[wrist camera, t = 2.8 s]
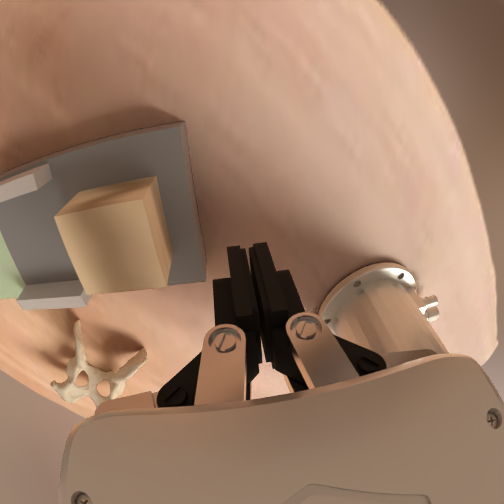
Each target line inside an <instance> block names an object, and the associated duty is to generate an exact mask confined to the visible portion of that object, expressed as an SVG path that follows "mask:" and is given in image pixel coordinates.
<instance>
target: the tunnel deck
mask: <svg viewBox="0 0 504 504" xmlns="http://www.w3.org/2000/svg"><path fill="white" fill-rule="evenodd" d="M153 176H156V177H157V182H158V187H159V192H160V197H161V201H162V206H163V211H164V215H165V220H166V224H167V229H168V233H169V237H170V241H171V245H172V250H173V257H172V262H171V267H170V272H169V277H168V283H167V285H176V284H186V283H195V282H204V281H206V256H205V250H204V244H203V239H202V233H201V227H200V221H199V216H198V209H197V203H196V197H195V191H194V184H193V178H192V171H191V164H190V157H189V150H188V142H187V135H186V127H185V121H182V122H176V123H170V124H164V125H159V126H154V127H149V128H144V129H139V130H134V131H130V132H126V133H121V134H117V135H113V136H109V137H105V138H101V139H98V140H94V141H91V142H87V143H84V144H80V145H77V146H74V147H71V148H67V149H64V150H61V151H58V152H55V153H52V154H49V155H47V156H44V157H41V158H38V159H36V160H33V161H30V162H28V163H25V164H23V165H20V166H18V167H16V168H13V169H11V170H8V171H6V172H4V173H2V174H0V299H8V298H18V299H17V302H18V304H19V305H20V307H21V308H22V310H37V309H60V308H79V307H87V305H88V302H89V300H90V298H91V295H92V294H89V295H87V294H86V292H85V290H84V288H83V286H82V284H81V282H80V280H79V277H78V275H77V273H76V271H75V269H74V266H73V264H72V262H71V259H70V257H69V255H68V252H67V250H66V247H65V245H64V242H63V240H62V237H61V235H60V232H59V229H58V227H57V224H56V221H55V218H54V216H55V215H56V214H57V213H58V212H59V211H60V210H61V209H62V208H63V207H64V206H65V205H66V204H67V203H68V202H69V201H70V200H71V199H72V198H73V197H74V196H75V195H76V194H77V193H78V192H80V191H84V190H89V189H93V188H98V187H102V186H107V185H111V184H116V183H121V182H126V181H131V180H137V179H142V178H148V177H153Z"/></svg>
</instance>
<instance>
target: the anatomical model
mask: <svg viewBox="0 0 504 504" xmlns="http://www.w3.org/2000/svg"><path fill="white" fill-rule="evenodd" d="M73 332H74V337H75V352H76V355H75V357H73V358H71V359H70V360H69V362H68V365H67V372H66V374H67V375H68V379H67V380H66V381H64V382H63V383H57V382H56V381H52V382H51V387H52V388H53V389H54V390H55V391H56V392H57V393H58V394H59V395H60V396H61V398H62V399H63V400H64V401H67V402H70V403H75V402H76V401H77V400H78V399H80V398H82V397H85V396H88V397H90V398H91V399H92V400H93V402H94V403H95V405H96V408H97V407H98V406H99V405H100V404H101V403H102V402H105V401H107V400H113V399H116V397H117V396H120V395H121V394H122V392H123V390H124V388H125V385H126V382H125V380H128V379H129V378H130V377H131V376H132V375H133V374H134V373H135V372H136V371H137V370H138V369H139V368H140V367H141V366H142V365H143V364H144V363H145V362H146V361H147V360H148V358H146V356H147V352H146V350H145V349H144V348H142V349H141V350H140V351H139V352H138V353H137V354H136V355H135V356H134V357H132V358H131V359H130V360H128V362H127V363H126V364H125V365H124V366H122V367H121V368H120V369H119V370H118V371H117V372H116V373H117V374H116V373H114V372H113V371H109V372H103V371H101V370H100V369H98V368H96V367H93V366H90V365H88V364H87V362H86V356H87V355H86V354H85V349H84V344H83V341H82V336H81V322H80V320H77V321H76V322H75V324H74V327H73ZM82 370H83V371H85V373H86V374H87V375H88V378H89V380H88V384H87V385H86V386H83V387H79V386H77V385H75V383H74V382H75V380H76V377H77V376H78V374H79V373H80V372H81V371H82ZM102 380H108V381H109V384H110V395H109V396H108V397H104V396H102V395H100V394H99V393H98V391H97V389H96V386H97V384H98V383H99V382H100V381H102Z"/></svg>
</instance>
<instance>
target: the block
mask: <svg viewBox="0 0 504 504" xmlns="http://www.w3.org/2000/svg"><path fill="white" fill-rule="evenodd" d="M54 218H55V221H56V224H57V227H58V229H59V232H60V235H61V237H62V240H63V242H64V245H65V247H66V250H67V252H68V255H69V257H70V259H71V262H72V264H73V266H74V269H75V271H76V273H77V275H78V277H79V280H80V282H81V284H82V286H83V288H84V290H85V292H86V294H87V295H89V294H101V293H113V292H124V291H134V290H145V289H155V288H165V287H167V283H168V277H169V272H170V267H171V262H172V257H173V250H172V245H171V241H170V237H169V233H168V229H167V224H166V220H165V215H164V211H163V206H162V201H161V197H160V192H159V187H158V182H157V177H156V176H153V177H148V178H142V179H137V180H131V181H126V182H121V183H116V184H111V185H107V186H102V187H98V188H93V189H89V190H84V191H80V192H78V193H77V194H76V195H75V196H74V197H73V198H72V199H71V200H70V201H69V202H68V203H67V204H66V205H65V206H64V207H63V208H62V209H61V210H60V211H59V212H58V213H57V214H56V215H55V216H54Z"/></svg>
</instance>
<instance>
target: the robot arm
mask: <svg viewBox="0 0 504 504" xmlns="http://www.w3.org/2000/svg"><path fill="white" fill-rule="evenodd" d="M227 252H228V260H229V268H230V276H231V278H223V279H215V280H213V295H214V313H215V327H213V328H212V329H210V330H209V331H208V332H207V334H206V335H205V338H204V342H203V348H202V352H200V353H199V354H198V355H197V356H196V357H195V358H194V359H193V360H192V361H191V362H190V363H188V364H187V365H186V366H185V367H184V368H183V369H182V370H181V371H180V372H179V373H177V374H176V375H175V376H174V377H173V378H172V379H171V380H170V381H168V382H167V383H166V384H165V385H164V386H163V387H162V388H161V389H160V390H159V392H155V393H152V392H151V391H149V392H145V393H140V394H136V395H132V396H127V397H122V398H117V399H113V400H107V401H105V402H102V403H101V404H100V405H99V406H98V407H97V409H96V411H95V415H94V416H91V417H89V418H87V419H85V420H83V421H81V422H79V423H78V424H77V425H75V427H74V428H73V429H72V430H71V432H70V434H69V436H68V438H67V441H66V444H65V449H64V452H63V458H62V464H61V472H60V482H59V504H504V403H503V401H502V399H501V397H500V395H499V393H498V392H497V390H496V389H495V386H494V385H493V383H492V382H491V380H490V378H489V377H488V375H487V374H486V372H485V371H484V370H483V369H482V367H481V366H480V365H479V364H478V363H477V362H476V361H475V360H474V359H472V358H471V357H469V356H466V355H462V354H449V352H448V350H447V349H446V347H445V346H444V344H443V343H442V341H441V339H440V338H439V336H438V335H437V333H436V332H435V330H434V329H433V327H432V326H431V324H430V322H433V321H436V320H438V318H439V311H438V309H437V307H436V305H437V303H438V299H437V297H436V296H435V295H432V296H429V297H425V298H423V299H422V298H421V297H419V295H418V294H417V293H416V283H415V279H414V278H413V276H412V274H411V273H410V272H409V271H408V270H407V269H406V268H405V267H403V266H402V265H400V264H396V263H391V262H383V263H376V264H372V265H369V266H366V267H364V268H361V269H359V270H357V271H355V272H353V273H352V274H350V275H349V276H347V277H346V278H344V279H343V280H342V281H341V282H340V283H339V284H337V285H336V286H335V287H334V288H333V289H332V291H331V292H330V293H329V294H328V295H327V297H326V298H325V300H324V301H323V303H322V305H321V308H320V310H319V314H318V315H316V314H313V313H309V312H305V310H304V308H303V305H302V302H301V300H300V297H299V294H298V292H297V289H296V287H295V284H294V281H293V279H292V276H291V274H290V272H289V270H282V271H276V269H275V266H274V263H273V260H272V257H271V254H270V251H269V248H268V245H267V243H266V242H263V243H256V244H253V247H251V248H249V256H250V269H251V274H250V269H249V264H248V259H247V255H246V250H245V248H243V249H240V246H232V247H227ZM261 340H262V344H263V349H264V354H265V359H266V362H271V363H272V368H273V369H275V370H277V371H279V372H280V373H282V374H284V378H285V381H286V383H287V386H288V388H289V390H290V392H291V393H289V394H283V395H278V396H272V397H266V398H260V399H253V400H252V382H251V381H252V380H253V379H254V378H255V377H256V376H257V374H258V373H259V363H262V350H261Z"/></svg>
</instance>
